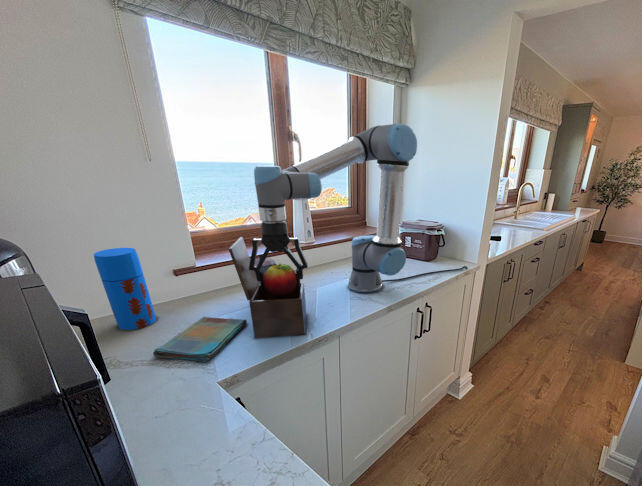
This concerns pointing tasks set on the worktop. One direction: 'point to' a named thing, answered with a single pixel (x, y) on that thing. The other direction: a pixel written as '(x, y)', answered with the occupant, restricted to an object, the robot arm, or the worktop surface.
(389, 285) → the worktop surface
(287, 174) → the robot arm
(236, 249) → the chest lid
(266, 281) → the fruit
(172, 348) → the dish towel
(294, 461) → the worktop surface
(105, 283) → the thermos
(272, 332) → the chest
